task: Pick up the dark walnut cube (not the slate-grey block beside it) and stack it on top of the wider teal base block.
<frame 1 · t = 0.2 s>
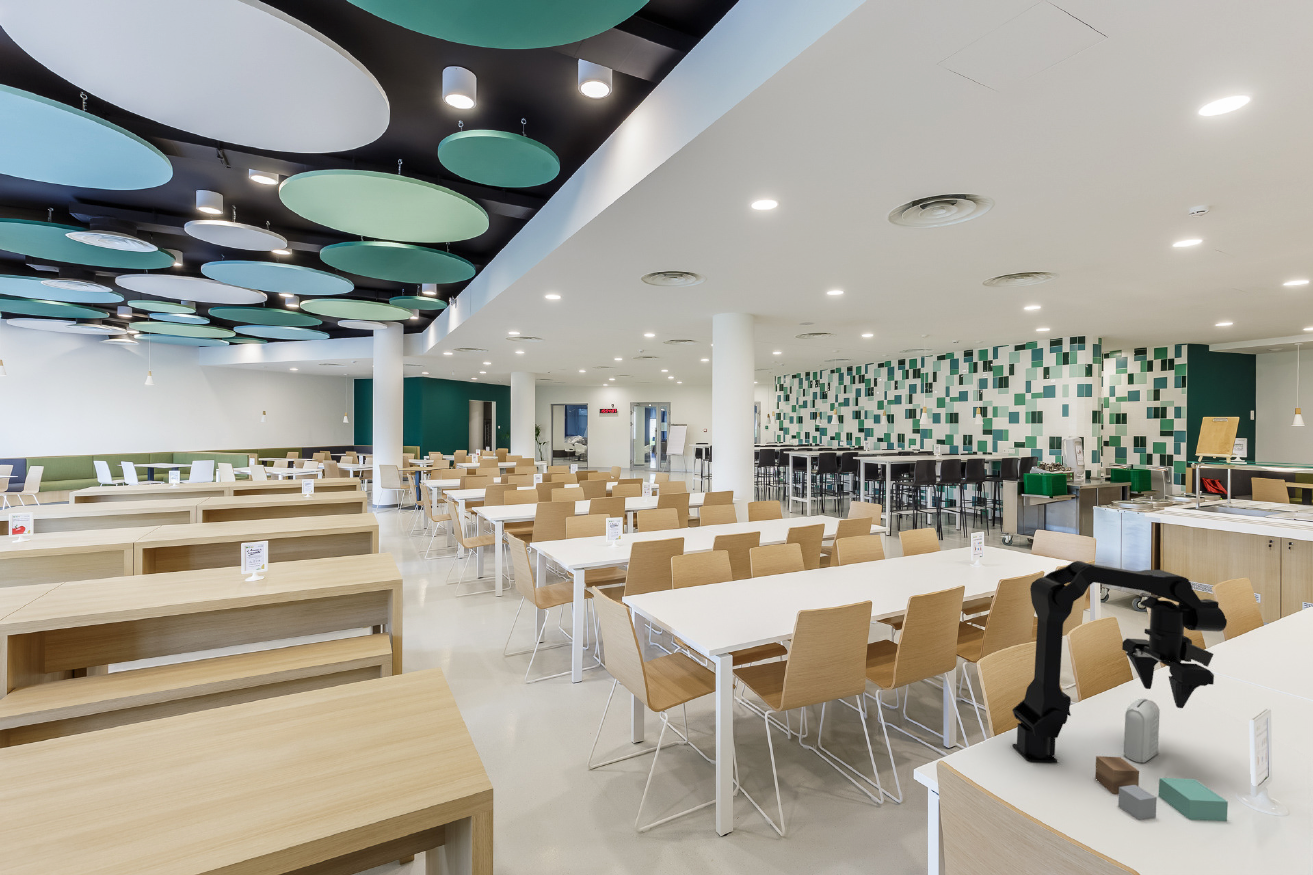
hand: (1163, 697, 130), 14 cm above the table, tool pointing down, fingers open, 9 cm apart
walnut cube: (1116, 787, 121), on the table
teal base block: (1191, 809, 114), on the table
photo printer: (1140, 755, 133), on the table
slate block: (1136, 812, 113), on the table
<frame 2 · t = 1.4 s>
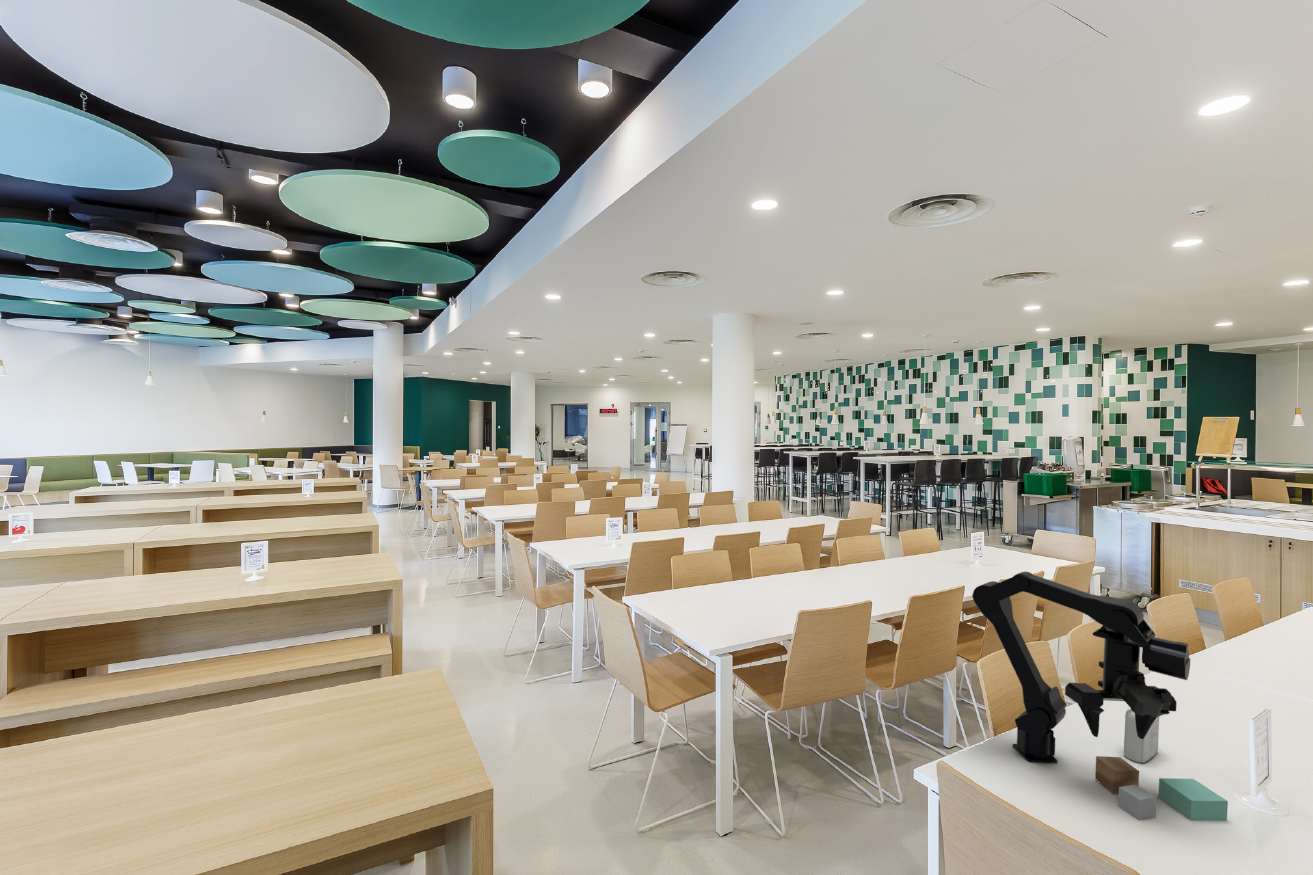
hand: (1117, 737, 120), 10 cm above the table, tool pointing down, fingers open, 9 cm apart
nothing on the table moved.
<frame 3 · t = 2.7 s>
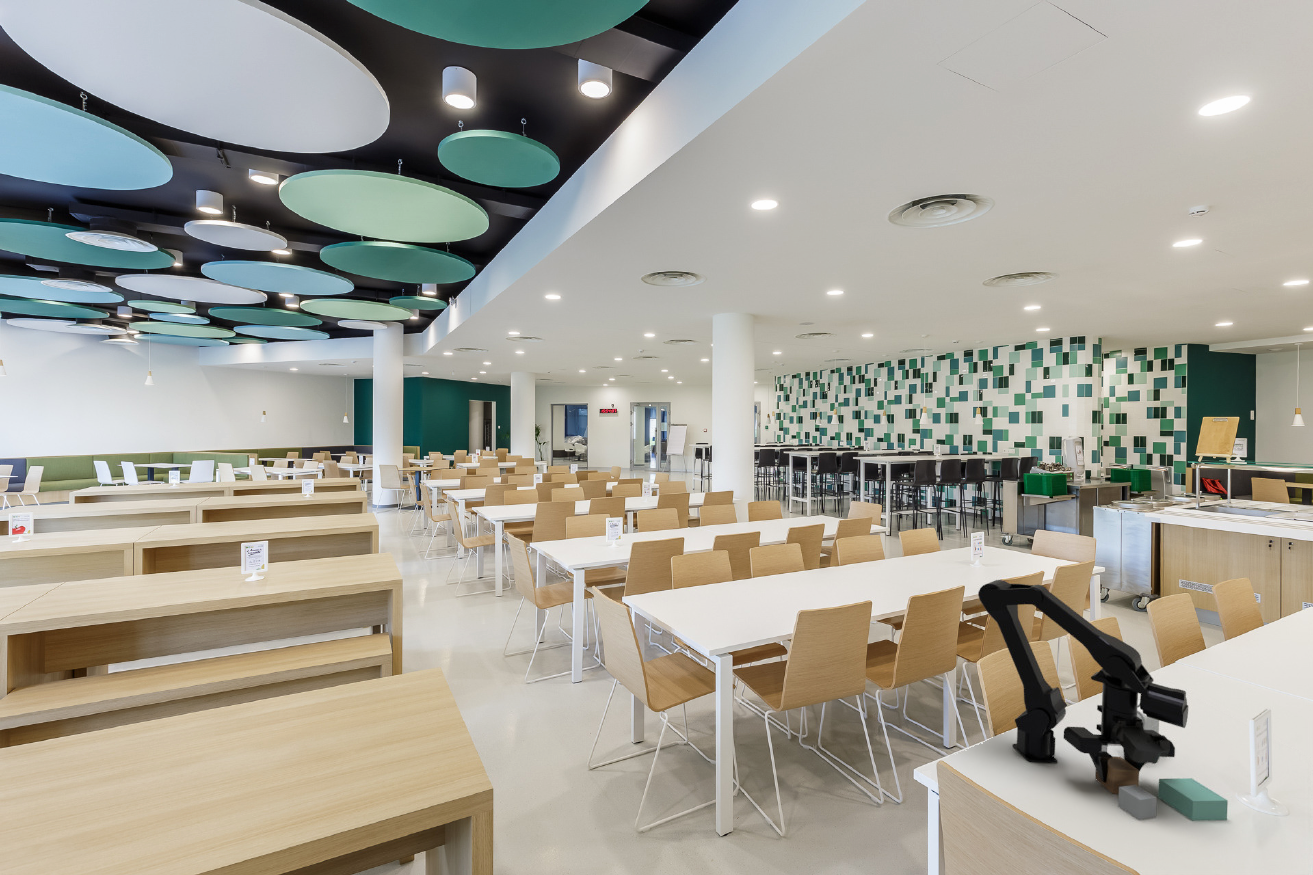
hand: (1116, 781, 121), 1 cm above the table, tool pointing down, fingers closed on walnut cube, 5 cm apart
walnut cube: (1116, 786, 121), on the table, touching gripper
everything else where it was.
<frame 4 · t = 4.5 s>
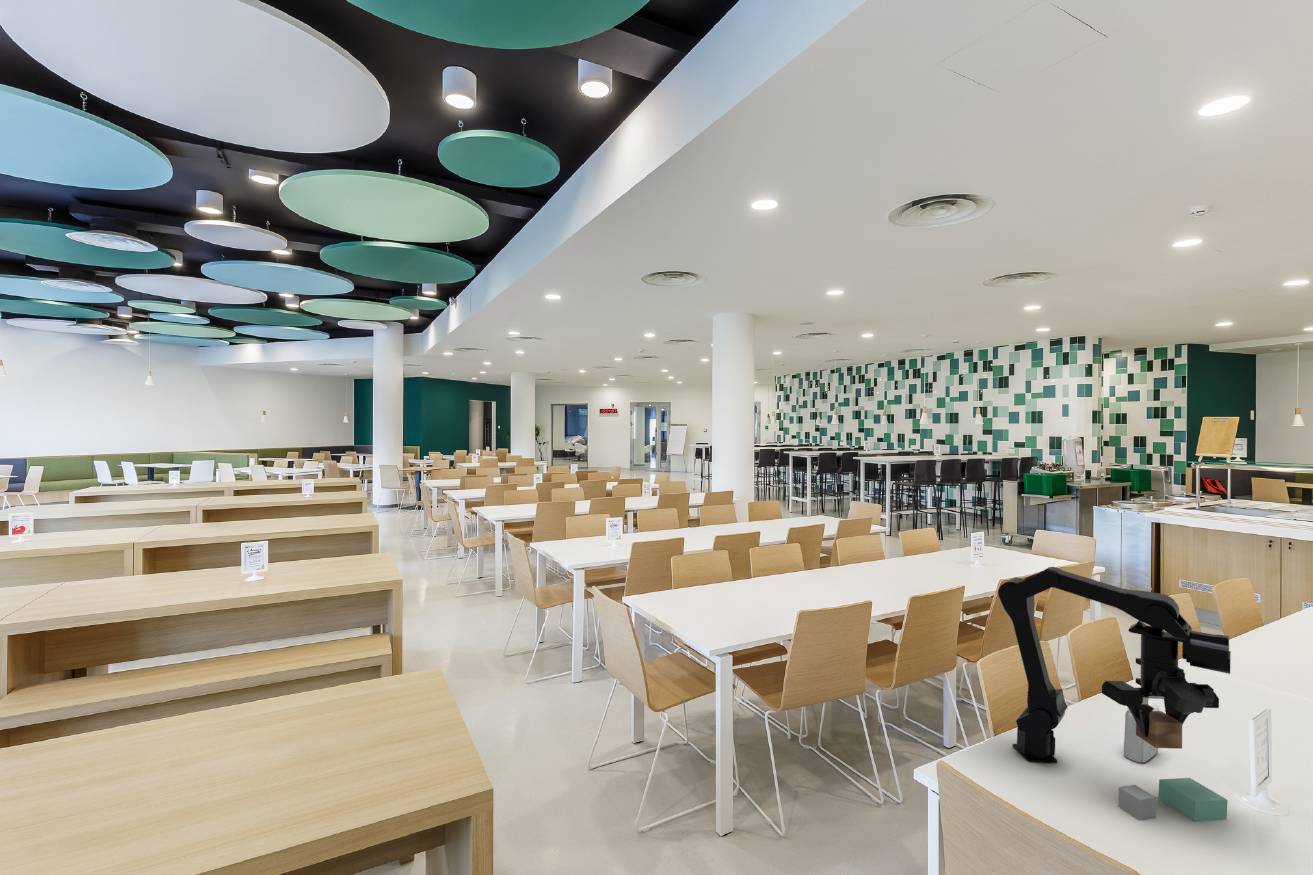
hand: (1158, 736, 117), 13 cm above the table, tool pointing down, fingers closed on walnut cube, 5 cm apart
walnut cube: (1158, 741, 117), point 12 cm above the table, touching gripper
everything else where it was.
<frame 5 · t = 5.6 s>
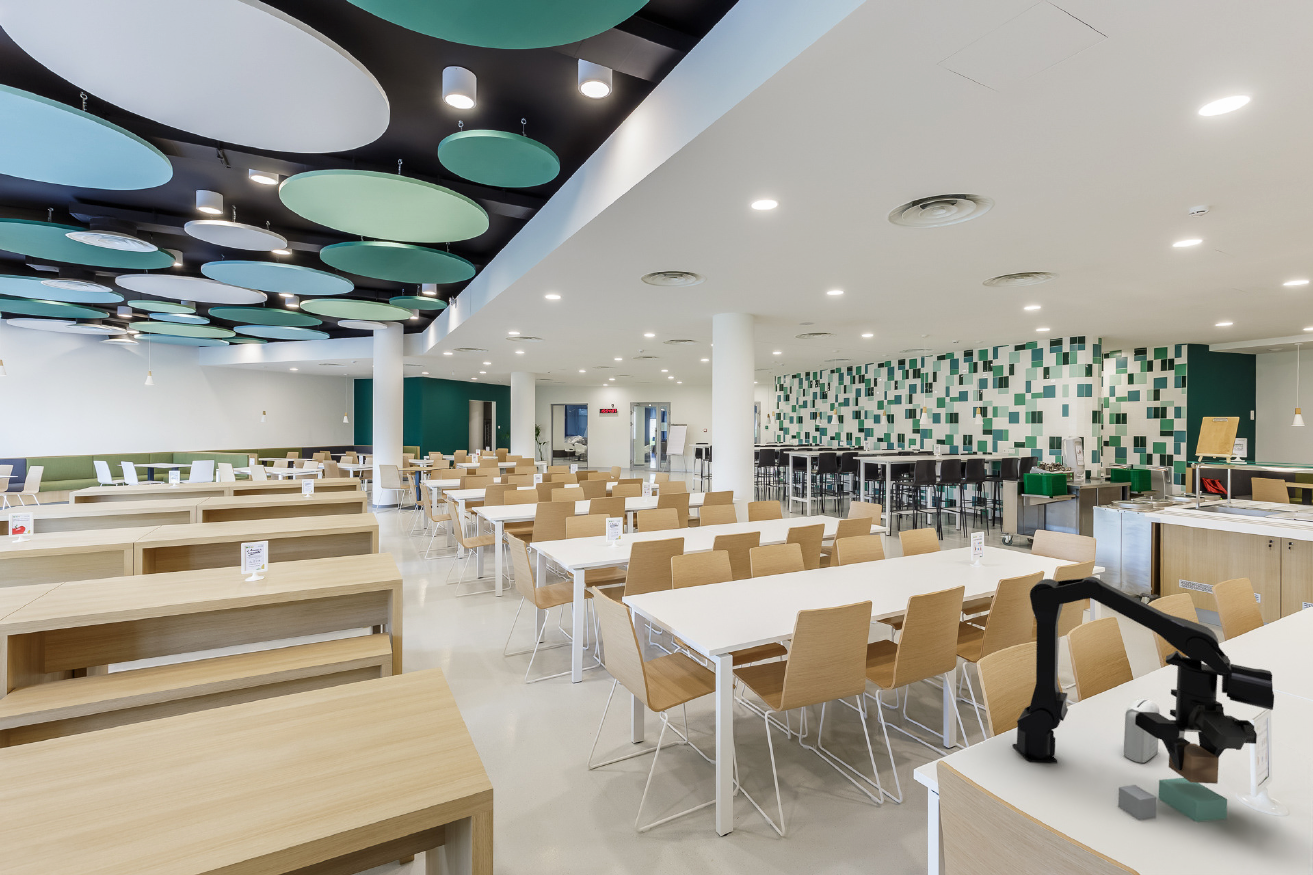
hand: (1192, 769, 114), 8 cm above the table, tool pointing down, fingers closed on walnut cube, 5 cm apart
walnut cube: (1192, 774, 114), point 7 cm above the table, touching gripper
everything else where it was.
when the fingers open (6 cm above the table, at t = 6.2 s): walnut cube drops 2 cm, resting on teal base block.
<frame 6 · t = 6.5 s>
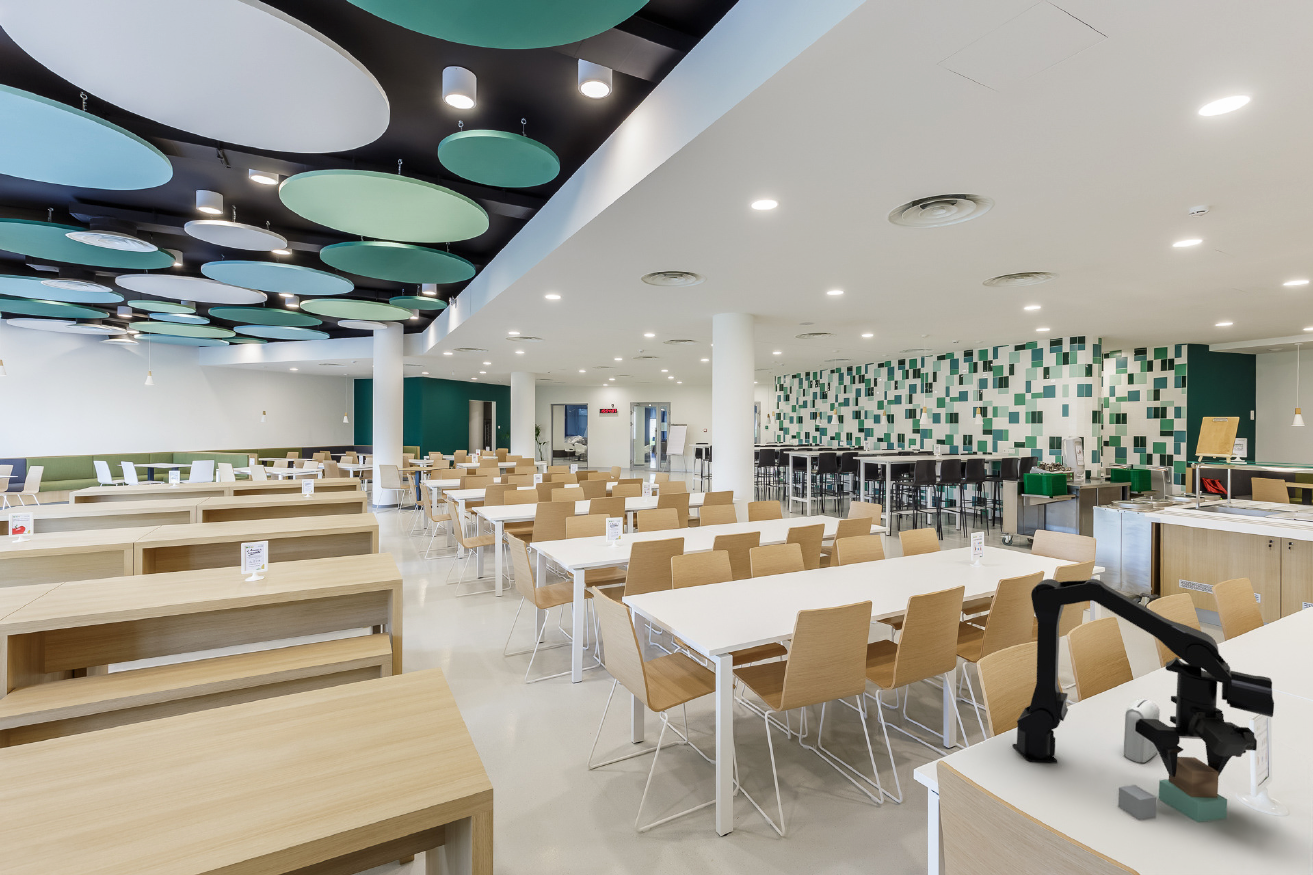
hand: (1192, 776, 114), 6 cm above the table, tool pointing down, fingers open, 8 cm apart
walnut cube: (1192, 789, 114), point 4 cm above the table, touching teal base block
teal base block: (1191, 809, 114), on the table, touching walnut cube
everything else where it was.
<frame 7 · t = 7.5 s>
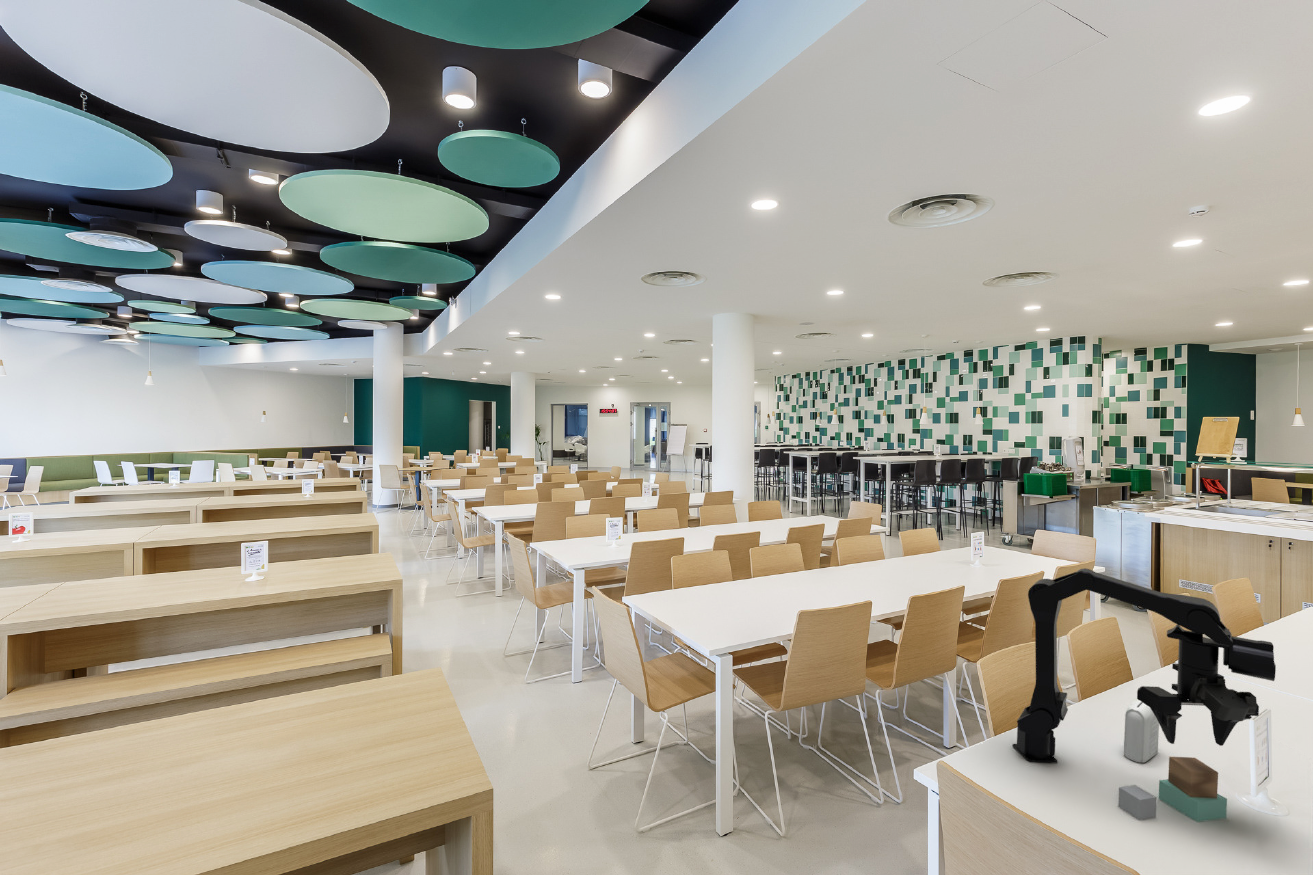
hand: (1194, 743, 114), 13 cm above the table, tool pointing down, fingers open, 9 cm apart
nothing on the table moved.
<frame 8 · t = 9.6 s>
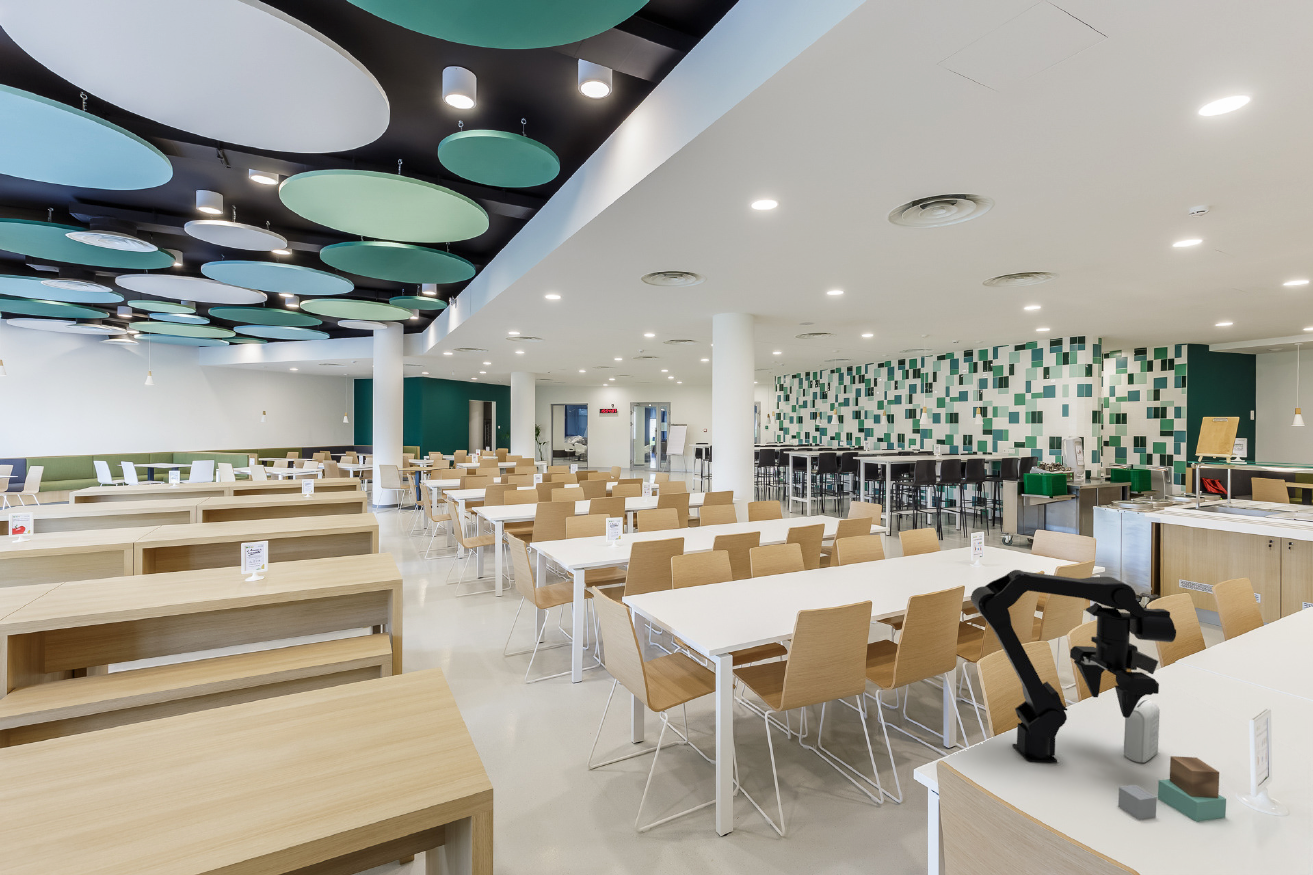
hand: (1110, 706, 128), 13 cm above the table, tool pointing down, fingers open, 9 cm apart
walnut cube: (1193, 789, 114), point 4 cm above the table
teal base block: (1190, 809, 114), on the table
everything else where it was.
at the end: walnut cube 0.3 cm off-centre on the teal base block, point 4.0 cm above the teal base block's base; walnut cube tilted 0°; slate block moved 0.1 cm from its start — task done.
